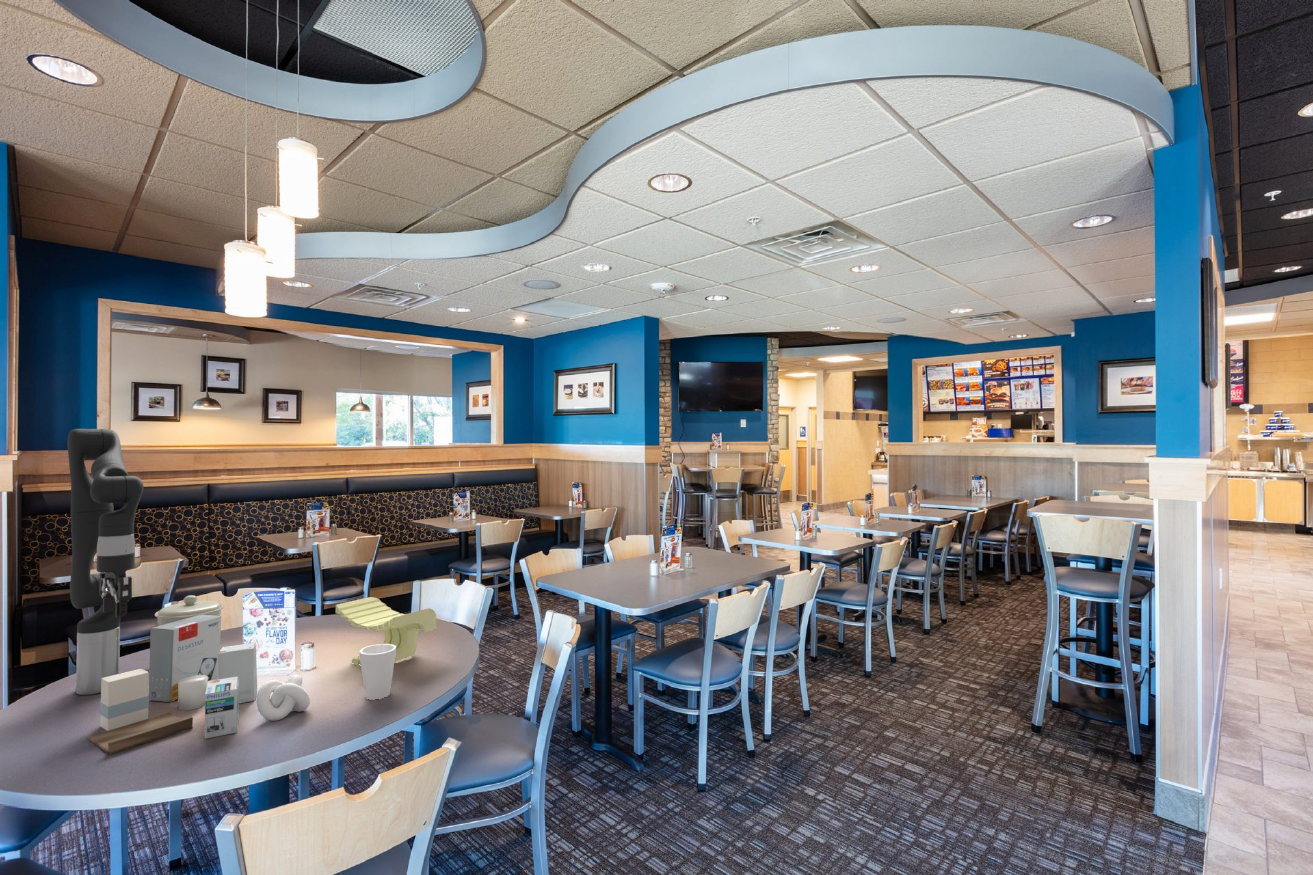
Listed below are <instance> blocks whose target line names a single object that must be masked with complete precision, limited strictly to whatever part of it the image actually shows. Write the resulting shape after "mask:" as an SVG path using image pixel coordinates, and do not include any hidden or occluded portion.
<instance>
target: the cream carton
mask: <svg viewBox="0 0 1313 875" xmlns="http://www.w3.org/2000/svg"><path fill="white" fill-rule="evenodd" d="M148 694H149V672H148V670H145V669H143V668H138V669H134V670H129V671H126V672H121V673H119V674H116V675H112V676H108V677H104V678H101V693H100V712H99V713H100V727H101V728H102V729H104V730H105V731H109V730H112V729H116V728H119V727H122V726H126V725H129V724H133V723H136V722H139V721H143V720H146V719H149V701H150V700H149V696H148Z"/></svg>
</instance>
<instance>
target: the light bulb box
mask: <svg viewBox="0 0 1313 875" xmlns="http://www.w3.org/2000/svg"><path fill="white" fill-rule="evenodd" d="M239 704H240V703H239V677H232V678H225V679H219V680H211V681H208V683H207V687H206V692H205V705H204V740H206V739H211V738H216V737H220V736H225V735H231V734H236V733H238V727H239V726H238V725H239Z"/></svg>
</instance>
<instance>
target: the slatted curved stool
mask: <svg viewBox="0 0 1313 875" xmlns="http://www.w3.org/2000/svg"><path fill="white" fill-rule="evenodd" d="M335 614H338V615H340V618H342V619H345V623H346V622H347V623H350V626H351V627H355V628H359V629H363V630H369V631H371V632H381V631H383V633H384V641H383V643H382V644H392V645H395V646H396V656H395V662H396V661H398V660H401V659H403V658H407V657H409V656H412V655H414V656H415V655H416V650H417V643H418V636H419V633H420V631H422V632H423V633H428V632H432V631H435V630H437V614H436V611H435V610H434V609H432V608H429V607H428V608H425V609H421V610H416V611H413V612H410V613H406V614H404V613H400V612H398V611H396V610H393V609H392V608H391V607H389V606H387V604H386V603H384V602H382V601H381V600H380V598H377V597H373V596H370V597H365V598H360V599H357V600H352V601H351V600H350V601H346V602H342V603H338V604H335ZM351 662H352V663H354V664H356V665H355V666H357V665H358V666H360V665H361V663H360V660H359V655H358V656H355V657H352V660H351ZM354 664H353V665H354ZM359 664H360V665H359Z"/></svg>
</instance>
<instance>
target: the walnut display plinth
mask: <svg viewBox="0 0 1313 875" xmlns="http://www.w3.org/2000/svg"><path fill="white" fill-rule="evenodd" d="M193 720H194V719H193V717H192V716H188V717H186V718H180V717H179V716H176V715H175V714H172V713H171V712H166V713H163V714H159V715H157V716H153V717H150V718H149V717H148V719H146V720H143V721H139V722H136V723H133V724H129V725H126V726H122V727H119V728H116V729H112V730H109V731H107V730H105V731H102V732H99V733H97V734H94V735H93V734H91V735H89V736H88V741H90V742H92V743H93V744H94V745H95V746H97V747H99V749H101V750H103V752H105V753H107V754H108V755H114V754H117V753H120V752H123V751H125V750H129V749H131V748H135V747H139V746H142V745H144V744H147V743H150V742H151V743H152V742H154V741H156V740H159V739H163V738H166V737H170V736H172V735H176V734H178V733H182V732H185V731H187V730H190V729H193V725H194V723H193Z"/></svg>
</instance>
